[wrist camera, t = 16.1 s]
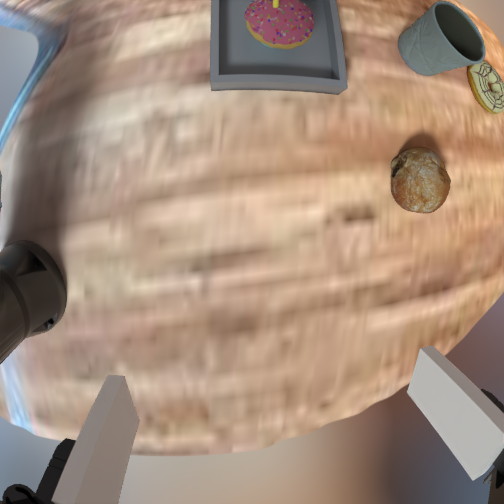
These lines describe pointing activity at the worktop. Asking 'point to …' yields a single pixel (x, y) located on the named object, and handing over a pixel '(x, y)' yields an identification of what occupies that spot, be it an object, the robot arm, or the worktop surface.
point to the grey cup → (441, 41)
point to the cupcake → (279, 22)
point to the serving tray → (276, 53)
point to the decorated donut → (486, 87)
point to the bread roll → (419, 180)
